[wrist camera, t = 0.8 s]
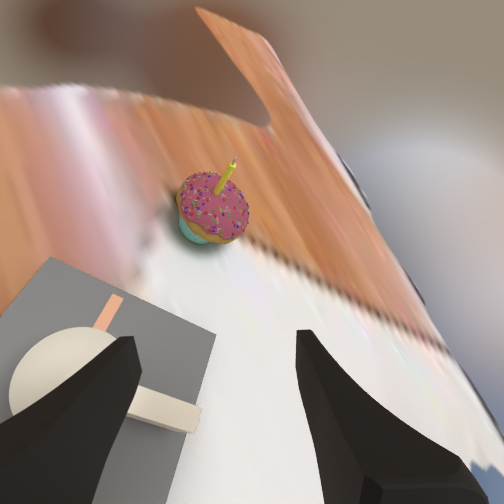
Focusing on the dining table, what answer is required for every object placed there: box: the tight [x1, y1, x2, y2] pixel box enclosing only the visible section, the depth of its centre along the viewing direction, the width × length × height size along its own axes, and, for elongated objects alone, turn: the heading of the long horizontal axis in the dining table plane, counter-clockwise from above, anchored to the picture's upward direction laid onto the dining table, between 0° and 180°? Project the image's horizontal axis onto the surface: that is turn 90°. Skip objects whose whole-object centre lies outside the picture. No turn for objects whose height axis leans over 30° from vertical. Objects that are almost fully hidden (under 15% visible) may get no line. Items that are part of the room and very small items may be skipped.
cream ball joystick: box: [9, 327, 202, 434], centre depth 19 cm, size 12×6×4 cm, turn 75°
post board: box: [0, 256, 216, 504], centre depth 22 cm, size 14×16×2 cm
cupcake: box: [176, 158, 249, 244], centre depth 31 cm, size 9×8×12 cm
